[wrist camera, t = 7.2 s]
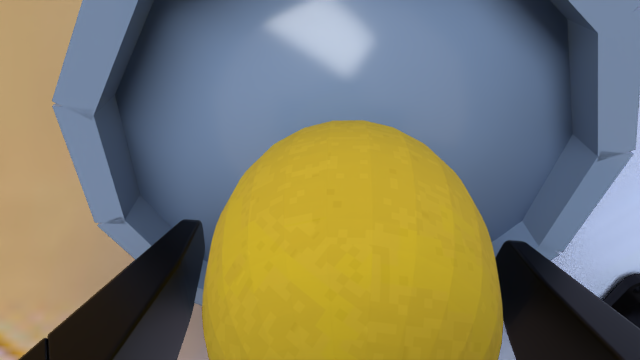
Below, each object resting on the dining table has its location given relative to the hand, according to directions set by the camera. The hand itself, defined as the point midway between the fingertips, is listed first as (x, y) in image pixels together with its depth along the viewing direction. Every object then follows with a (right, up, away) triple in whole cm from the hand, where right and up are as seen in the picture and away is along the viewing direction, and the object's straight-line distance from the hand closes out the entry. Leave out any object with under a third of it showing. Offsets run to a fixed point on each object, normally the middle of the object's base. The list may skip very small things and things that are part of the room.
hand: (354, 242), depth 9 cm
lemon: (0, +2, +3) cm, 3 cm away
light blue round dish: (0, +2, +3) cm, 4 cm away
